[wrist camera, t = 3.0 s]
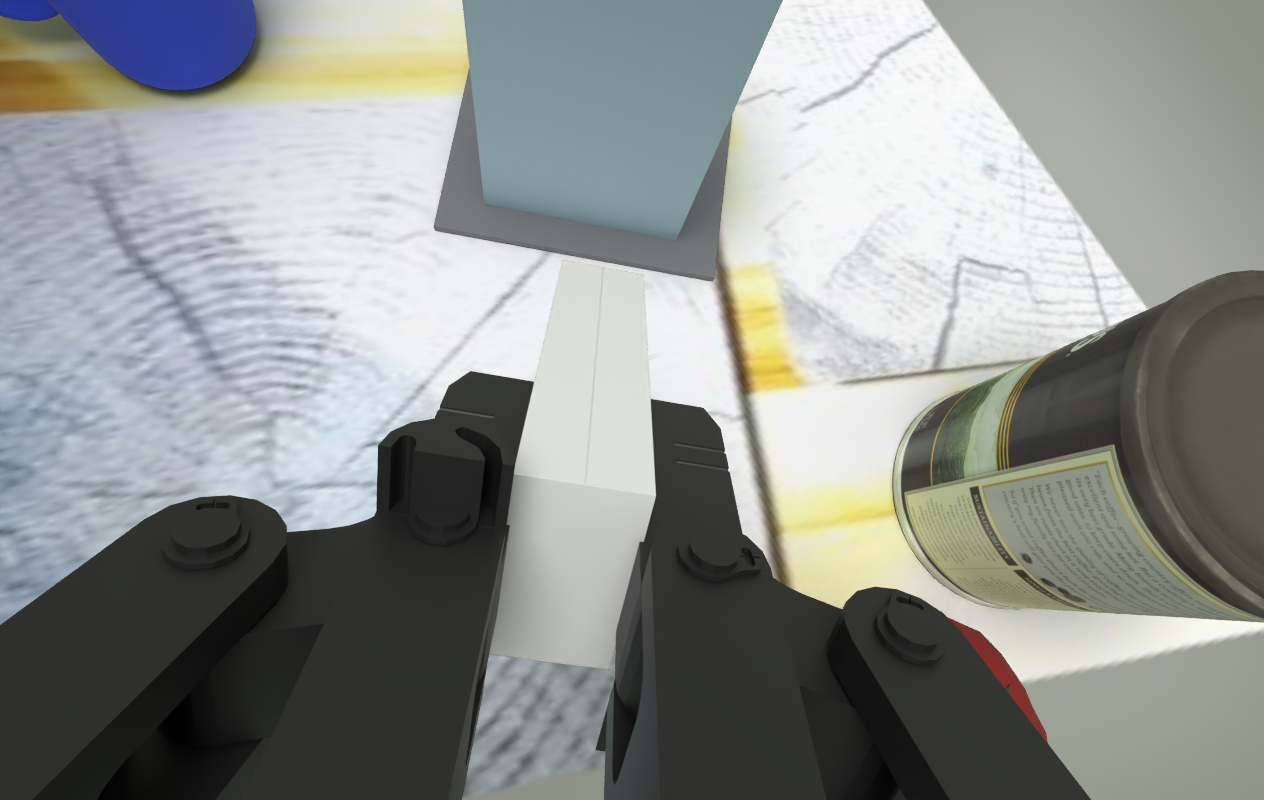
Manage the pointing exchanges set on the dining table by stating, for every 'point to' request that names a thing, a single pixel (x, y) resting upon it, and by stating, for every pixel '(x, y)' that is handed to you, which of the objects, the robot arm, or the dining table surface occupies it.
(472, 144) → the mat
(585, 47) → the block
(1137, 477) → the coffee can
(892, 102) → the dining table surface
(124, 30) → the mug
